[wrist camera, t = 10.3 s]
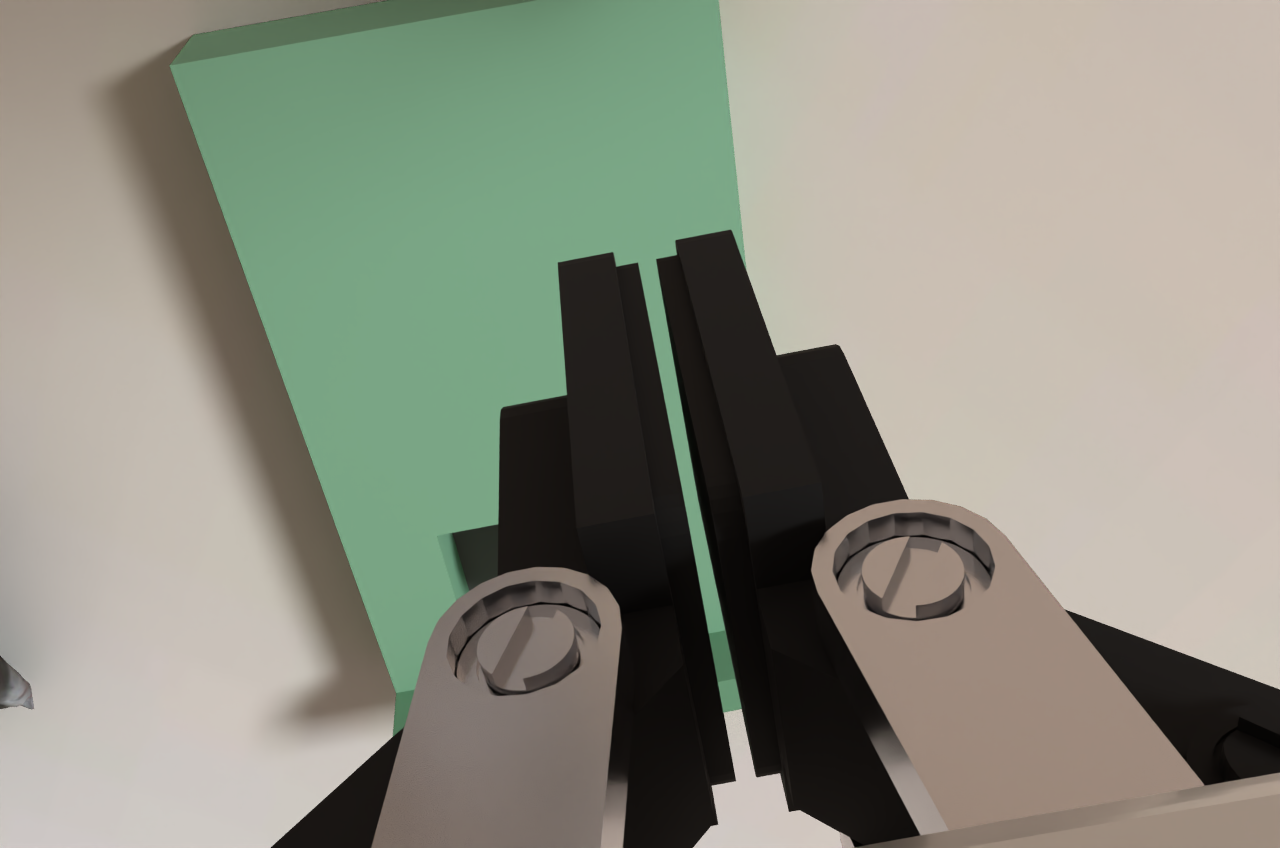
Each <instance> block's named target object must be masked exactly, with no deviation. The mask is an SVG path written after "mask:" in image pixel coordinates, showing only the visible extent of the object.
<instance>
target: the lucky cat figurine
mask: <svg viewBox="0 0 1280 848" xmlns="http://www.w3.org/2000/svg"><path fill="white" fill-rule="evenodd" d="M17 706H23V707H26V708H29V709H34V705H33V699H32V692H31V686H30V684H29V683H28V682H27V681H26V680H25V679H23V678H22V676H21V675H20V674H19V673H18V672H17V671H16V670H14V669H13V668H12V667H11V666H10V665H9V664H8V663H7V662H6V661H5V660H4V659H3V658H2V657H1V656H0V709H3V708H8V707H17Z"/></svg>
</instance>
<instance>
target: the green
mask: <svg viewBox="0 0 1280 848" xmlns="http://www.w3.org/2000/svg"><path fill="white" fill-rule="evenodd" d="M170 69H171V72H172V74H173V77H174V80H175V83H176V85H177V88H178V91H179V94H180V96H181V99H182V102H183V105H184V108H185V110H186V113H187V116H188V119H189V121H190V124H191V127H192V130H193V132H194V135H195V138H196V141H197V143H198V146H199V149H200V152H201V155H202V157H203V160H204V163H205V166H206V168H207V171H208V174H209V177H210V179H211V182H212V185H213V188H214V191H215V193H216V196H217V199H218V202H219V204H220V207H221V210H222V213H223V215H224V218H225V221H226V224H227V226H228V229H229V232H230V235H231V238H232V240H233V243H234V246H235V249H236V251H237V254H238V257H239V260H240V262H241V265H242V268H243V271H244V274H245V276H246V279H247V282H248V285H249V287H250V290H251V293H252V296H253V298H254V301H255V304H256V307H257V309H258V312H259V315H260V318H261V321H262V323H263V326H264V329H265V332H266V334H267V337H268V340H269V343H270V345H271V348H272V351H273V354H274V357H275V359H276V362H277V365H278V368H279V370H280V373H281V376H282V379H283V381H284V384H285V387H286V390H287V392H288V395H289V398H290V401H291V404H292V406H293V409H294V412H295V415H296V417H297V420H298V423H299V426H300V428H301V431H302V434H303V437H304V440H305V442H306V445H307V448H308V451H309V453H310V456H311V459H312V462H313V464H314V467H315V470H316V473H317V475H318V478H319V481H320V484H321V487H322V489H323V492H324V495H325V498H326V500H327V503H328V506H329V509H330V511H331V514H332V517H333V520H334V523H335V525H336V528H337V531H338V534H339V536H340V539H341V542H342V545H343V547H344V550H345V553H346V556H347V558H348V561H349V564H350V567H351V570H352V572H353V575H354V578H355V581H356V583H357V586H358V589H359V592H360V594H361V597H362V600H363V603H364V606H365V608H366V611H367V614H368V617H369V619H370V622H371V625H372V628H373V630H374V633H375V636H376V639H377V641H378V644H379V647H380V650H381V653H382V655H383V658H384V661H385V664H386V666H387V669H388V672H389V675H390V677H391V680H392V683H393V686H394V689H395V691H396V702H395V715H394V729H393V736H394V735H396V734H397V733H398V732H399V731H400V730H401V729H402V728H403V727H404V726H405V723H406V720H407V716H408V712H409V709H410V705H411V701H412V698H413V694H414V690H415V687H416V683H417V680H418V676H419V672H420V669H421V665H422V661H423V658H424V654H425V650H426V647H427V643H428V641H429V639H430V637H431V634H432V632H433V630H434V628H435V626H436V624H437V622H438V620H439V619H440V618H441V617H442V615H443V614H444V613H445V612H446V611H447V610H448V609H449V608H450V607H451V606H452V604H453V603H454V602H455V601H456V600H457V599H459V598H460V597H462V596H463V595H465V594H466V593H467V592H469V591H470V590H472V589H473V588H475V587H476V586H478V585H479V584H481V583H483V582H486V581H488V580H491V579H493V578H495V577H498V512H499V438H500V412H501V409H502V408H503V407H506V406H511V405H516V404H522V403H527V402H532V401H538V400H543V399H548V398H553V397H559V396H564V395H567V389H566V375H565V361H564V347H563V333H562V319H561V305H560V291H559V277H558V262H563V261H568V260H573V259H579V258H584V257H589V256H594V255H600V254H605V253H610V252H613V253H614V257H615V262H616V267H617V266H622V265H627V264H633V263H638V265H639V270H640V275H641V280H642V285H643V291H644V296H645V301H646V306H647V311H648V316H649V321H650V327H651V332H652V337H653V342H654V347H655V352H656V357H657V363H658V368H659V373H660V378H661V383H662V388H663V393H664V399H665V404H666V409H667V414H668V419H669V424H670V430H671V435H672V440H673V445H674V450H675V455H676V460H677V466H678V471H679V476H680V481H681V486H682V491H683V497H684V502H685V507H686V512H687V518H688V523H689V528H690V534H691V539H692V545H693V550H694V555H695V561H696V566H697V572H698V577H699V583H700V588H701V594H702V599H703V604H704V610H705V615H706V621H707V626H708V632H709V637H710V643H711V648H712V653H713V659H714V664H715V670H716V675H717V681H718V686H719V691H720V697H721V702H722V708H723V712H728V711H733V710H739V709H742V708H741V703H740V698H739V693H738V688H737V684H736V679H735V674H734V669H733V665H732V660H731V655H730V650H729V646H728V641H727V636H726V631H725V626H724V622H723V617H722V612H721V607H720V603H719V598H718V593H717V588H716V584H715V579H714V574H713V569H712V564H711V560H710V555H709V550H708V545H707V541H706V536H705V531H704V526H703V522H702V517H701V512H700V507H699V502H698V497H697V491H696V486H695V480H694V475H693V469H692V463H691V458H690V452H689V446H688V440H687V435H686V429H685V423H684V418H683V412H682V406H681V401H680V395H679V389H678V383H677V378H676V372H675V366H674V361H673V355H672V349H671V343H670V338H669V332H668V326H667V321H666V315H665V309H664V304H663V298H662V292H661V286H660V281H659V275H658V269H657V263H656V259H659V258H664V257H669V256H675V255H677V253H676V245H675V240H678V239H683V238H689V237H694V236H699V235H704V234H710V233H715V232H720V231H725V230H732V232H733V235H734V237H735V240H736V243H737V246H738V249H739V252H740V254H741V257H742V260H743V263H744V266H745V268H746V263H745V253H744V244H743V234H742V224H741V215H740V205H739V195H738V186H737V176H736V166H735V157H734V147H733V137H732V128H731V118H730V108H729V99H728V89H727V79H726V70H725V60H724V50H723V41H722V31H721V21H720V12H719V2H718V0H387V1H382V2H376V3H370V4H365V5H359V6H353V7H348V8H342V9H336V10H331V11H325V12H320V13H314V14H308V15H303V16H297V17H291V18H286V19H280V20H274V21H269V22H263V23H258V24H252V25H246V26H241V27H235V28H229V29H224V30H218V31H213V32H207V33H201V34H196V35H193V36H192V37H191V38H190V39H189V41H188V42H187V43H186V45H185V46H184V47H183V49H182V50H181V51H180V53H179V54H178V55H177V56H176V58H175V59H174V60H173V62H172V63H171V64H170Z"/></svg>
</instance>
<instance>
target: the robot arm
mask: <svg viewBox="0 0 1280 848" xmlns="http://www.w3.org/2000/svg"><path fill="white" fill-rule="evenodd" d="M675 245H676V253H677V255H675V256H669V257H664V258H659V259H656V263H657V269H658V275H659V281H660V286H661V292H662V298H663V304H664V309H665V315H666V321H667V326H668V332H669V338H670V343H671V349H672V355H673V361H674V366H675V372H676V378H677V383H678V389H679V395H680V401H681V406H682V412H683V418H684V423H685V429H686V435H687V440H688V446H689V452H690V458H691V463H692V469H693V475H694V480H695V486H696V491H697V497H698V502H699V507H700V512H701V517H702V522H703V526H704V531H705V536H706V541H707V545H708V550H709V555H710V560H711V564H712V569H713V574H714V579H715V584H716V588H717V593H718V598H719V603H720V607H721V612H722V617H723V622H724V626H725V631H726V636H727V641H728V646H729V650H730V655H731V660H732V665H733V669H734V674H735V679H736V684H737V688H738V693H739V698H740V703H741V708H742V712H743V717H744V722H745V727H746V731H747V736H748V741H749V746H750V750H751V755H752V760H753V765H754V769H755V774H756V777H761V776H767V775H772V774H778V773H780V775H781V779H782V783H783V788H784V792H785V796H786V801H787V805H788V809H789V812H791V811H796V810H801V811H803V812H804V813H806V814H808V815H810V816H812V817H814V818H815V819H817V820H819V821H821V822H823V823H824V824H826V825H828V826H830V827H832V828H833V829H835V830H837V831H839V832H840V840H841V844H842V848H1280V690H1279V689H1277V688H1274V687H1271V686H1269V685H1266V684H1263V683H1261V682H1258V681H1255V680H1253V679H1250V678H1247V677H1244V676H1242V675H1239V674H1236V673H1234V672H1231V671H1228V670H1226V669H1223V668H1220V667H1218V666H1215V665H1212V664H1210V663H1207V662H1204V661H1202V660H1199V659H1196V658H1194V657H1191V656H1188V655H1185V654H1183V653H1180V652H1177V651H1175V650H1172V649H1169V648H1167V647H1164V646H1161V645H1159V644H1156V643H1153V642H1151V641H1148V640H1145V639H1143V638H1140V637H1137V636H1135V635H1132V634H1129V633H1126V632H1124V631H1121V630H1118V629H1116V628H1113V627H1110V626H1108V625H1105V624H1102V623H1100V622H1097V621H1094V620H1092V619H1089V618H1086V617H1084V616H1081V615H1078V614H1076V613H1073V612H1070V611H1068V610H1065V609H1064V608H1063V607H1062V606H1061V605H1060V603H1059V602H1058V601H1057V600H1056V598H1055V597H1054V596H1053V595H1052V593H1051V592H1050V591H1049V590H1048V588H1047V587H1046V586H1045V585H1044V583H1043V582H1042V581H1041V580H1040V578H1039V577H1038V576H1037V575H1036V573H1035V572H1034V571H1033V570H1032V568H1031V567H1030V566H1029V565H1028V563H1027V562H1026V561H1025V560H1024V558H1023V557H1022V556H1021V555H1020V553H1019V552H1018V551H1017V549H1016V548H1015V547H1014V546H1013V544H1012V543H1011V542H1010V541H1009V539H1008V538H1007V537H1006V536H1005V535H1004V534H1003V533H1002V532H1001V531H1000V530H998V529H997V528H996V527H995V526H994V525H993V524H992V523H991V522H990V521H988V520H987V519H986V518H984V517H982V516H980V515H978V514H976V513H973V512H971V511H969V510H967V509H965V508H963V507H961V506H957V505H952V504H948V503H943V502H939V501H935V500H910V499H908V496H907V494H906V492H905V490H904V487H903V485H902V483H901V481H900V478H899V476H898V474H897V472H896V469H895V467H894V465H893V463H892V460H891V458H890V456H889V454H888V451H887V449H886V447H885V445H884V443H883V440H882V438H881V436H880V434H879V431H878V429H877V427H876V425H875V422H874V420H873V418H872V416H871V413H870V411H869V409H868V407H867V404H866V402H865V400H864V398H863V395H862V393H861V391H860V389H859V386H858V384H857V382H856V380H855V377H854V375H853V373H852V371H851V369H850V366H849V364H848V362H847V360H846V357H845V355H844V353H843V351H842V350H841V348H840V346H838V345H836V344H835V345H830V346H824V347H819V348H814V349H808V350H803V351H798V352H792V353H787V354H782V355H776V353H775V350H774V347H773V345H772V342H771V339H770V336H769V333H768V330H767V328H766V325H765V322H764V319H763V316H762V314H761V311H760V308H759V305H758V302H757V299H756V297H755V294H754V291H753V288H752V285H751V283H750V280H749V277H748V274H747V271H746V268H745V266H744V263H743V260H742V257H741V254H740V252H739V249H738V246H737V243H736V240H735V237H734V235H733V232H732V230H725V231H720V232H715V233H710V234H704V235H699V236H694V237H689V238H683V239H678V240H675ZM558 277H559V291H560V305H561V319H562V333H563V347H564V361H565V375H566V389H567V395H564V396H559V397H553V398H548V399H543V400H538V401H532V402H527V403H522V404H516V405H511V406H506V407H503V408H502V409H501V412H500V438H499V512H498V577H495V578H493V579H491V580H488V581H486V582H483V583H481V584H479V585H478V586H476V587H475V588H473V589H472V590H470V591H469V592H467V593H466V594H465V595H463V596H462V597H460V598H459V599H457V600H456V601H455V602H454V603H453V604H452V606H451V607H450V608H449V609H448V610H447V611H446V612H445V613H444V614H443V615H442V617H441V618H440V619H439V620H438V622H437V624H436V626H435V628H434V630H433V632H432V634H431V637H430V639H429V641H428V643H427V647H426V650H425V654H424V658H423V661H422V665H421V669H420V672H419V676H418V680H417V683H416V687H415V690H414V694H413V698H412V701H411V705H410V709H409V712H408V716H407V720H406V723H405V726H404V727H403V728H402V729H401V730H400V731H399V732H398V733H397V734H396V735H394V736H393V737H392V738H391V739H390V740H389V741H388V742H387V743H386V744H385V745H383V746H382V747H381V748H380V749H379V750H378V751H377V752H376V753H375V754H373V755H372V756H371V757H370V758H369V759H368V760H367V761H366V762H365V763H364V764H362V765H361V766H360V767H359V768H358V769H357V770H356V771H355V772H354V773H353V774H351V775H350V776H349V777H348V778H347V779H346V780H345V781H344V782H343V783H341V784H340V785H339V786H338V787H337V788H336V789H335V790H334V791H333V792H332V793H330V794H329V795H328V796H327V797H326V798H325V799H324V800H323V801H322V802H321V803H319V804H318V805H317V806H316V807H315V808H314V809H313V810H312V811H311V812H309V813H308V814H307V815H306V816H305V817H304V818H303V819H302V820H301V821H300V822H298V823H297V824H296V825H295V826H294V827H293V828H292V829H291V830H290V831H289V832H287V833H286V834H285V835H284V836H283V837H282V838H281V839H280V840H279V841H277V842H276V843H275V844H274V845H273V846H272V847H271V848H693V847H694V846H695V844H696V843H697V842H698V841H699V840H700V838H701V837H702V836H703V835H704V834H705V832H706V831H707V830H708V829H709V828H710V826H713V825H718V821H717V815H716V809H715V804H714V798H713V792H712V785H717V784H723V783H728V782H734V781H736V779H735V773H734V768H733V762H732V757H731V751H730V746H729V740H728V735H727V730H726V724H725V719H724V713H723V708H722V702H721V697H720V691H719V686H718V681H717V675H716V670H715V664H714V659H713V653H712V648H711V643H710V637H709V632H708V626H707V621H706V615H705V610H704V604H703V599H702V594H701V588H700V583H699V577H698V572H697V566H696V561H695V555H694V550H693V545H692V539H691V534H690V528H689V523H688V518H687V512H686V507H685V502H684V497H683V491H682V486H681V481H680V476H679V471H678V466H677V460H676V455H675V450H674V445H673V440H672V435H671V430H670V424H669V419H668V414H667V409H666V404H665V399H664V393H663V388H662V383H661V378H660V373H659V368H658V363H657V357H656V352H655V347H654V342H653V337H652V332H651V327H650V321H649V316H648V311H647V306H646V301H645V296H644V291H643V285H642V280H641V275H640V270H639V265H638V263H633V264H627V265H622V266H617V267H616V262H615V257H614V253H613V252H610V253H605V254H600V255H594V256H589V257H584V258H579V259H573V260H568V261H563V262H558Z"/></svg>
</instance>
